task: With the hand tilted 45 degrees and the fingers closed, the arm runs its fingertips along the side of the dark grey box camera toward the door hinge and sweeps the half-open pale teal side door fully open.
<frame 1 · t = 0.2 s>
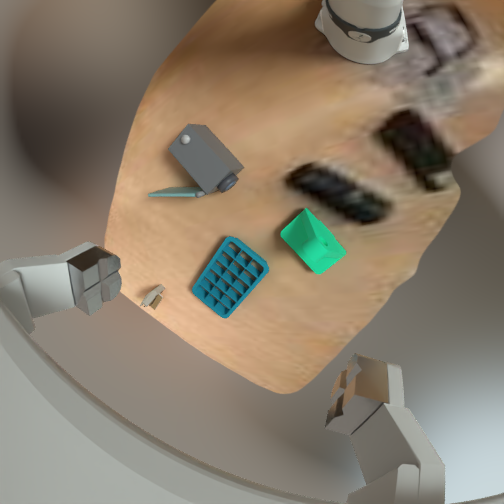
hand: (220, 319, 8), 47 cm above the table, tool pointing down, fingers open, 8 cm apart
side door: (183, 192, 57), point 4 cm above the table, hinge at 48.0°
action camera: (216, 188, 58), on the table
camera mount: (314, 239, 56), on the table
ice cube tray: (232, 275, 66), on the table
architectural model: (161, 290, 77), on the table
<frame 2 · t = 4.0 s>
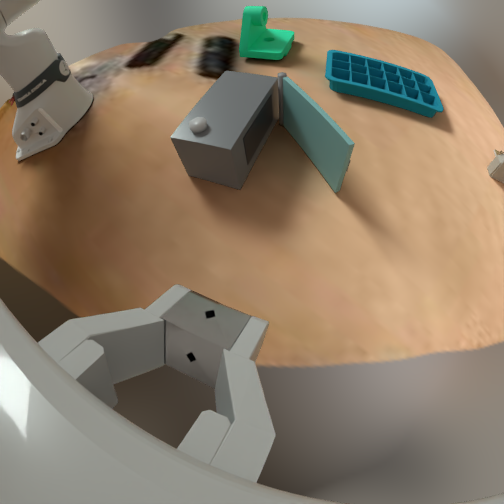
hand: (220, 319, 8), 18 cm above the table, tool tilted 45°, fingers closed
side door: (310, 129, 28), point 4 cm above the table, hinge at 48.0°
action camera: (282, 123, 34), on the table
camera mount: (269, 50, 42), on the table
ice cube tray: (381, 89, 36), on the table
architectural model: (497, 179, 29), on the table
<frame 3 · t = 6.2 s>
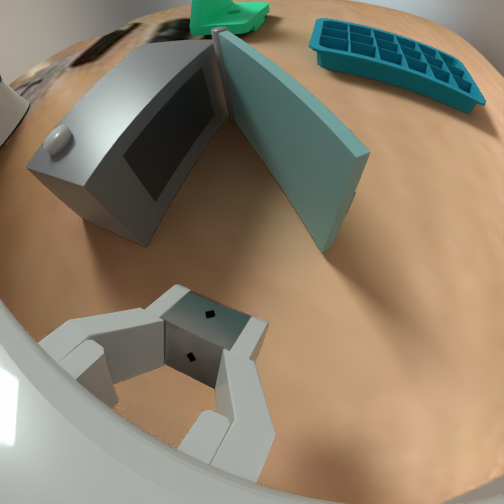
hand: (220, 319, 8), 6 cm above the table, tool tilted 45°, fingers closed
side door: (272, 123, 14), point 4 cm above the table, hinge at 48.0°
action camera: (236, 119, 20), on the table
camera mount: (235, 27, 29), on the table
ice cube tray: (395, 70, 23), on the table
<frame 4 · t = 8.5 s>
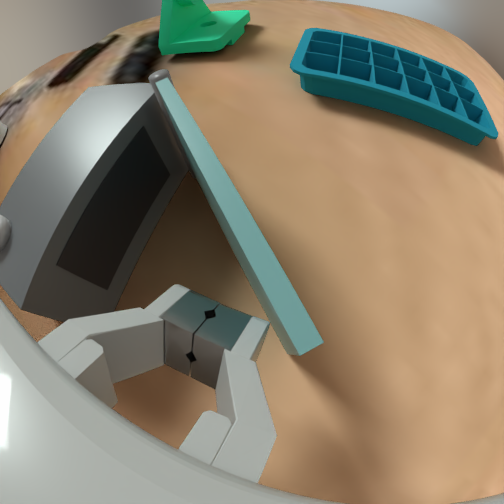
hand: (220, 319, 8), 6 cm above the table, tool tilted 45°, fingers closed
side door: (225, 208, 12), point 4 cm above the table, hinge at 49.1°, touching gripper
action camera: (198, 173, 18), on the table
camera mount: (211, 40, 27), on the table
ice cube tray: (394, 91, 21), on the table
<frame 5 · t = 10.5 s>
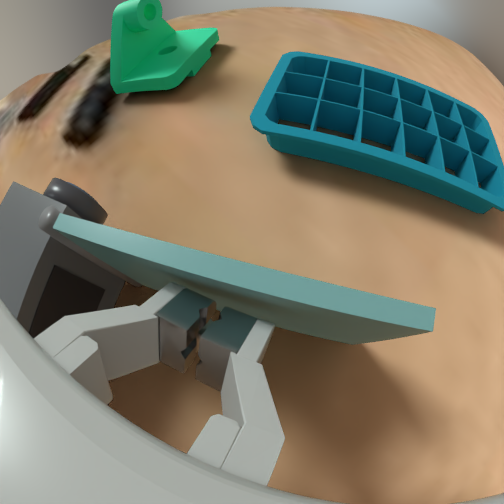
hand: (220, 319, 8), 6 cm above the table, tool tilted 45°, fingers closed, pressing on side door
side door: (217, 289, 11), point 4 cm above the table, hinge at 95.8°, touching gripper
action camera: (139, 279, 16), on the table
camera mount: (174, 69, 25), on the table
ice cube tray: (389, 137, 19), on the table
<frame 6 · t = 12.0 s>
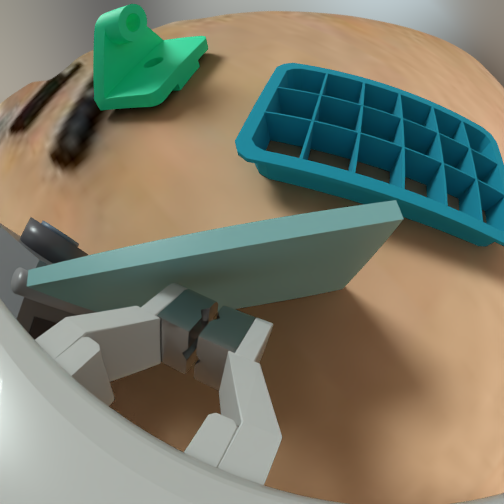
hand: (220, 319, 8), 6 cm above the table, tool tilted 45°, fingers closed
side door: (198, 285, 11), point 4 cm above the table, hinge at 121.1°, touching gripper
action camera: (122, 318, 15), on the table
camera mount: (161, 81, 24), on the table
ice cube tray: (389, 160, 18), on the table
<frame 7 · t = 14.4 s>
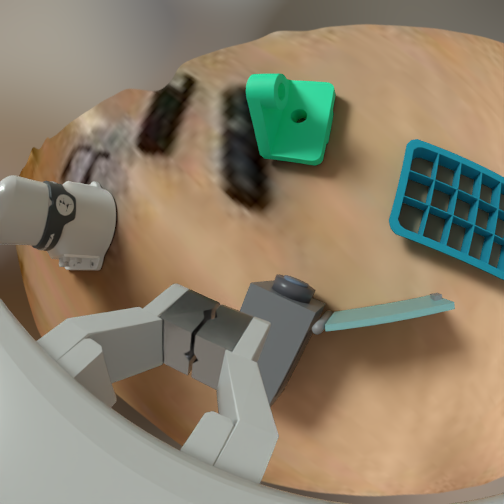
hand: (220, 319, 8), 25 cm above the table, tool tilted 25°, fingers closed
side door: (382, 310, 24), point 4 cm above the table, hinge at 121.2°
action camera: (329, 314, 30), on the table
camera mount: (303, 126, 33), on the table
ice cube tray: (467, 216, 25), on the table
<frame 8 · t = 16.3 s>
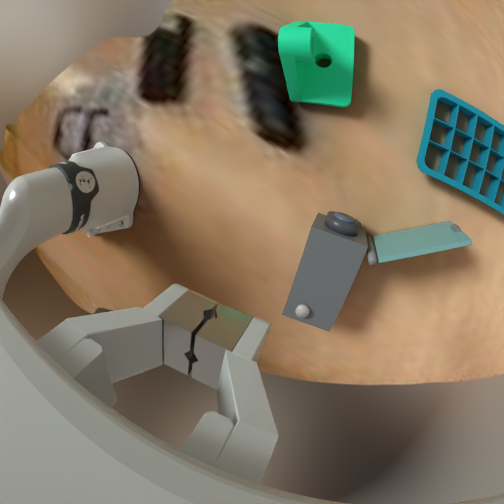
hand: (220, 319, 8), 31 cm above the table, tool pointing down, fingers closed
side door: (415, 238, 29), point 4 cm above the table, hinge at 121.2°
action camera: (368, 238, 36), on the table
camera mount: (325, 66, 29), on the table
ice cube tray: (478, 157, 26), on the table
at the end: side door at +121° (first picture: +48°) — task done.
